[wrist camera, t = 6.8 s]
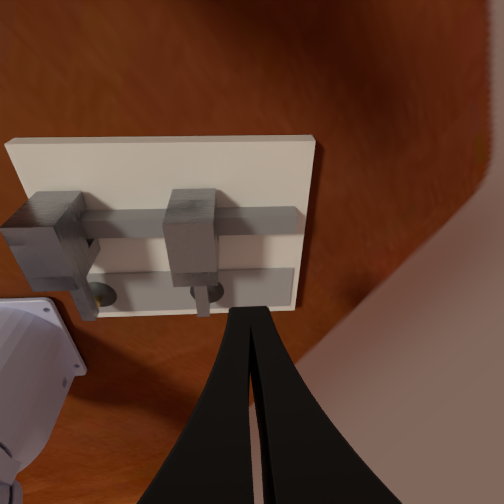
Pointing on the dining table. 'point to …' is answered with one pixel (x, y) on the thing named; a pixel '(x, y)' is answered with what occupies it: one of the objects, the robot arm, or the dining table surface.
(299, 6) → the dining table surface
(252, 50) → the dining table surface
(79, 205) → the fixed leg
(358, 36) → the dining table surface
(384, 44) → the dining table surface
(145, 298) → the board
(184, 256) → the grey sliding bolt
